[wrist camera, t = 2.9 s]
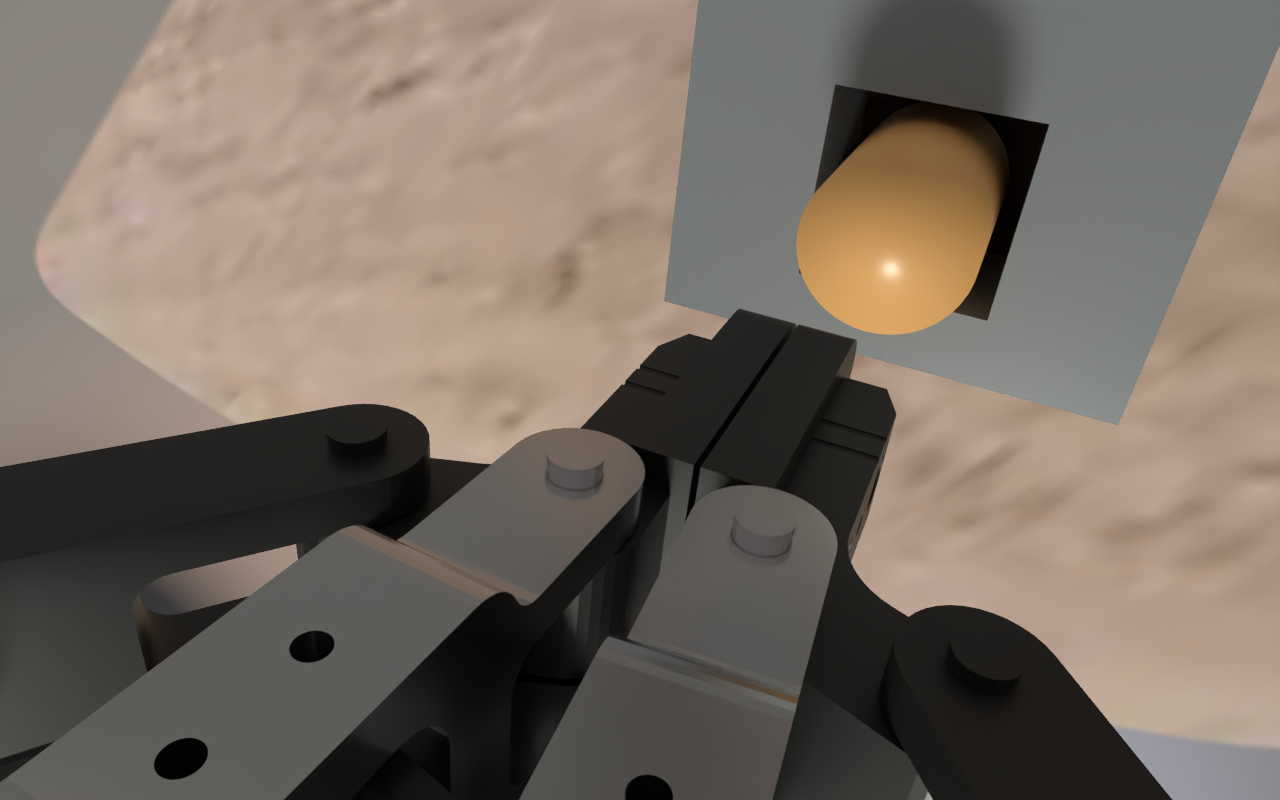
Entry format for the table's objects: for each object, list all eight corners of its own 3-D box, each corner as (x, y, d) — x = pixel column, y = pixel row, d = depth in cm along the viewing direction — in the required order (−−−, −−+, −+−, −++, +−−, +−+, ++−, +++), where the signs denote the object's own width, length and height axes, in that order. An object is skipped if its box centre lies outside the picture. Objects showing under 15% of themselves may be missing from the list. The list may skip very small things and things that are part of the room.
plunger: (1028, 116, 19) (1005, 181, 15) (985, 262, 21) (953, 354, 17) (874, 88, 20) (814, 141, 16) (843, 229, 22) (782, 309, 18)
